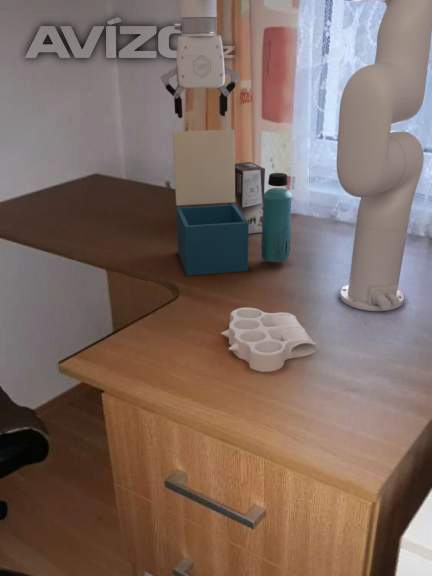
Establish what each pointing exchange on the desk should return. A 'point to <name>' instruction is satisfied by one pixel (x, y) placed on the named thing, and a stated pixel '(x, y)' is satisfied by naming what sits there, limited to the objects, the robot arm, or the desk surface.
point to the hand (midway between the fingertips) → (201, 116)
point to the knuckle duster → (267, 338)
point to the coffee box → (250, 193)
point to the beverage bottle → (276, 220)
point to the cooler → (212, 239)
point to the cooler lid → (204, 167)
